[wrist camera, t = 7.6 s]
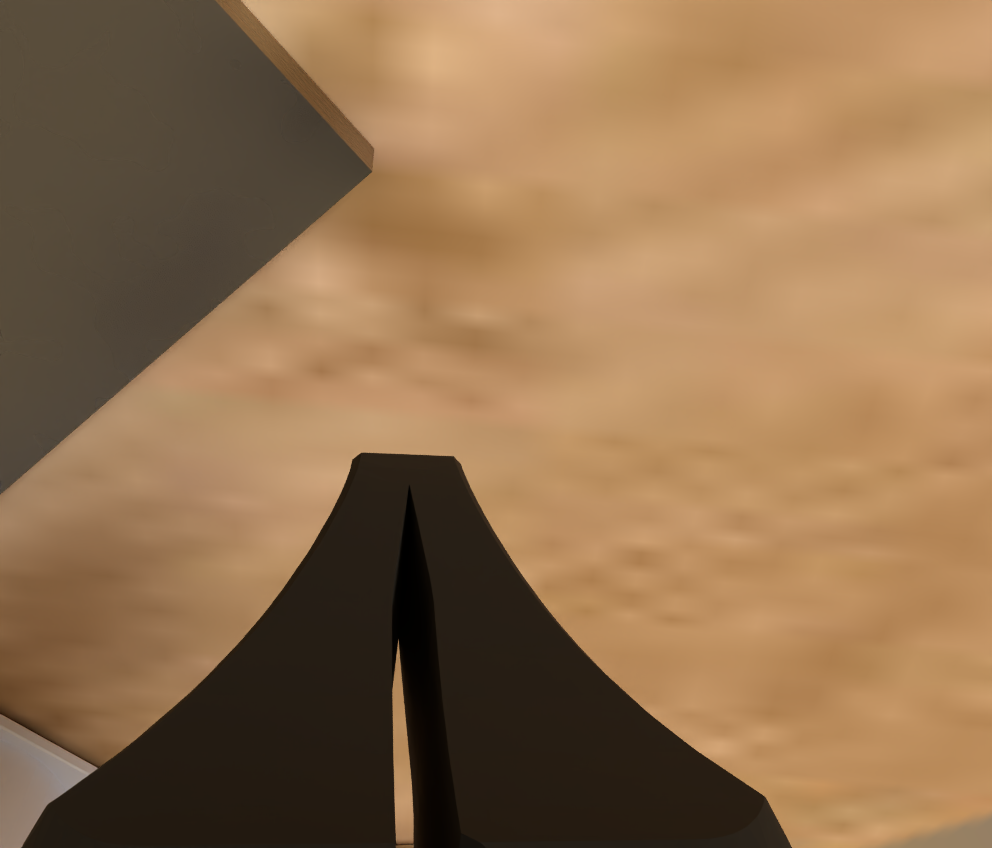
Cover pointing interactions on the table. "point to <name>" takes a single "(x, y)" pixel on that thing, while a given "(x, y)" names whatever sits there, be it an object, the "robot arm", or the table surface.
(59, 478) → the table surface
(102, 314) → the base plate
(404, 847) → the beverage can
